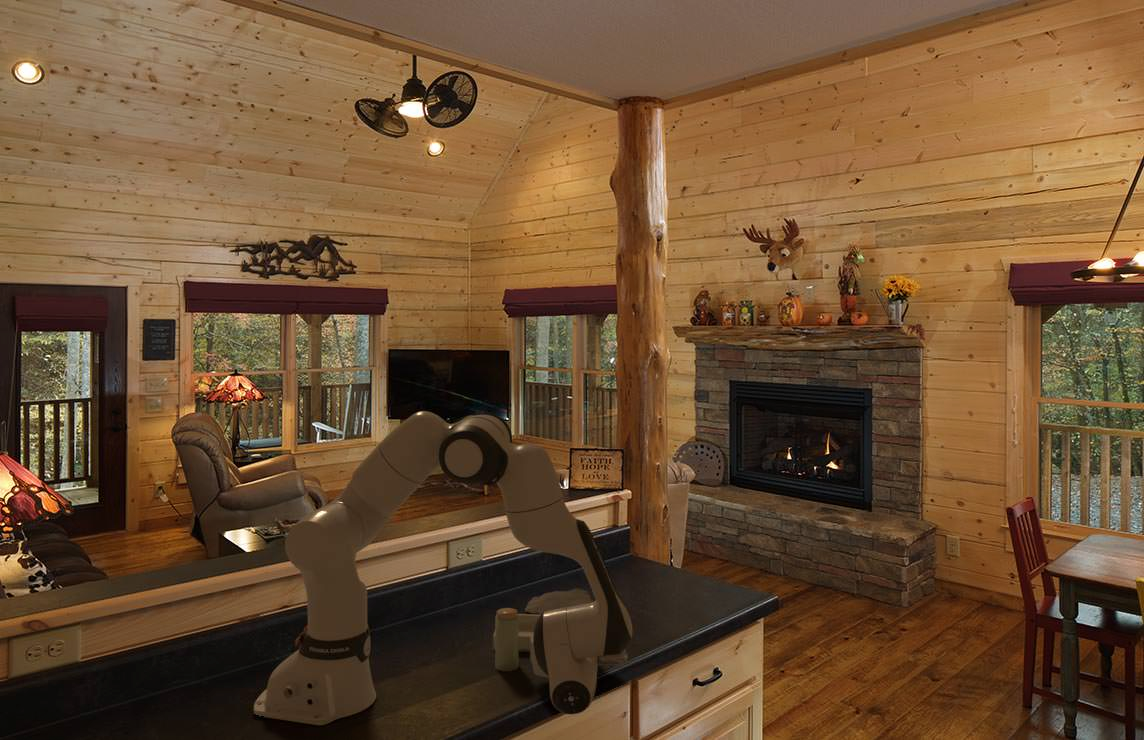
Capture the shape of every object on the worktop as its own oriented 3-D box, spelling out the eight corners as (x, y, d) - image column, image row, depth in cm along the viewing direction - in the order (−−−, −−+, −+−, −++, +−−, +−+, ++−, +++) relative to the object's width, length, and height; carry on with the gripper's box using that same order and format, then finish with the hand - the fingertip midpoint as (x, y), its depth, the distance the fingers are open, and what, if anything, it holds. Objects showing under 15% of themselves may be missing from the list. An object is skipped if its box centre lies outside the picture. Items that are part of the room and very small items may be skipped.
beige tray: (493, 650, 171) (493, 635, 171) (502, 627, 184) (502, 613, 184) (596, 653, 169) (596, 638, 169) (598, 630, 183) (598, 616, 183)
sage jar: (493, 670, 160) (493, 615, 160) (497, 660, 165) (497, 607, 165) (516, 671, 160) (517, 616, 160) (519, 661, 165) (520, 607, 165)
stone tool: (514, 609, 200) (559, 639, 178) (514, 597, 200) (558, 625, 178) (578, 594, 210) (627, 621, 188) (577, 582, 210) (627, 607, 188)
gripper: (628, 647, 150) (627, 620, 164) (526, 643, 151) (533, 618, 165) (627, 678, 150) (626, 649, 164) (525, 674, 151) (533, 646, 165)
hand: (579, 633), depth 164 cm, fingers open, 8 cm apart
